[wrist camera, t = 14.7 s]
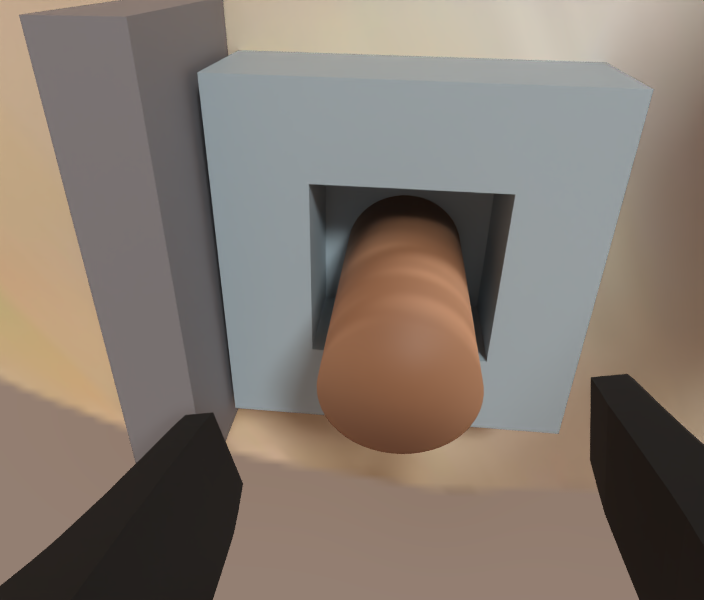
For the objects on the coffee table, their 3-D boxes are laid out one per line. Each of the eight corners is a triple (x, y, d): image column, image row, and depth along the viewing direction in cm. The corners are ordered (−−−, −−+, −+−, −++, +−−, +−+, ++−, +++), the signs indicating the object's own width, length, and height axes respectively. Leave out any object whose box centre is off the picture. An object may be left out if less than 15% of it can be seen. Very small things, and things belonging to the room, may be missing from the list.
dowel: (453, 186, 17) (475, 314, 11) (465, 288, 19) (490, 447, 13) (337, 205, 18) (298, 335, 12) (360, 302, 19) (336, 459, 13)
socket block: (602, 60, 16) (653, 89, 12) (535, 355, 21) (558, 433, 17) (242, 47, 16) (197, 72, 13) (264, 336, 22) (235, 407, 18)
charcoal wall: (222, -4, 15) (126, 16, 10) (257, 359, 21) (208, 485, 16) (149, -4, 15) (18, 14, 10) (205, 356, 22) (140, 480, 16)
